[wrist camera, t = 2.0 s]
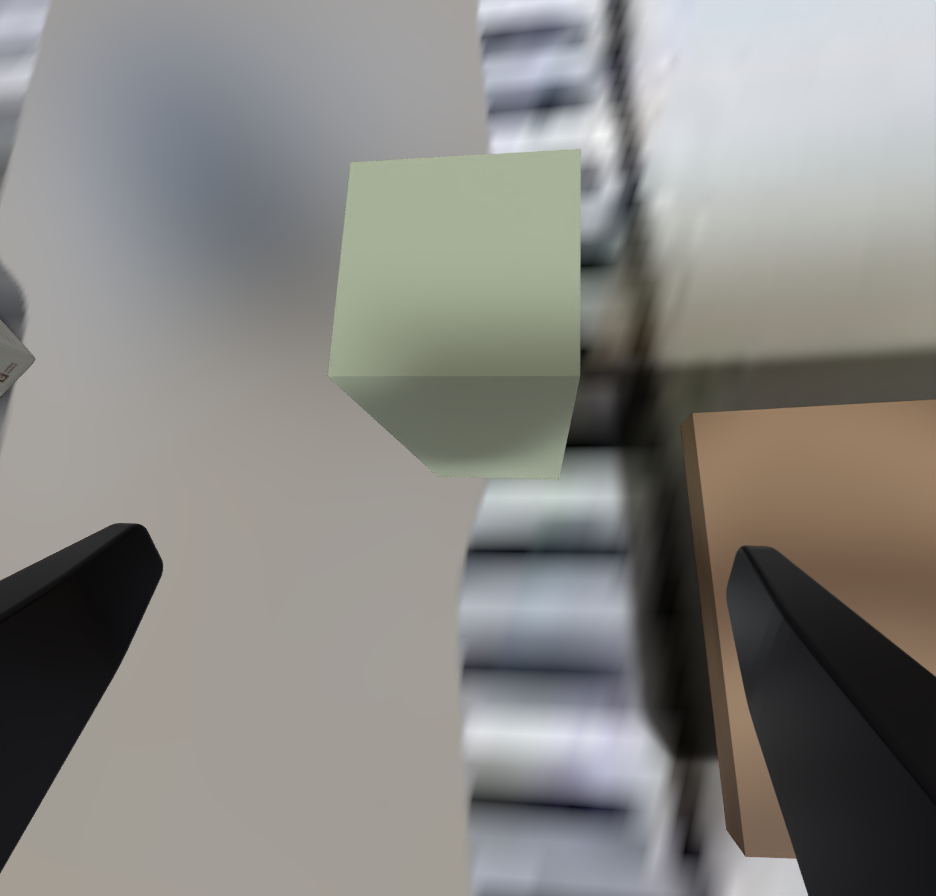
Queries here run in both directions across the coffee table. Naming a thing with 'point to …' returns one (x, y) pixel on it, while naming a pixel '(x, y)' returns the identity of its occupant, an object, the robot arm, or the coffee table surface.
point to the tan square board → (809, 549)
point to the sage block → (464, 308)
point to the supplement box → (12, 358)
